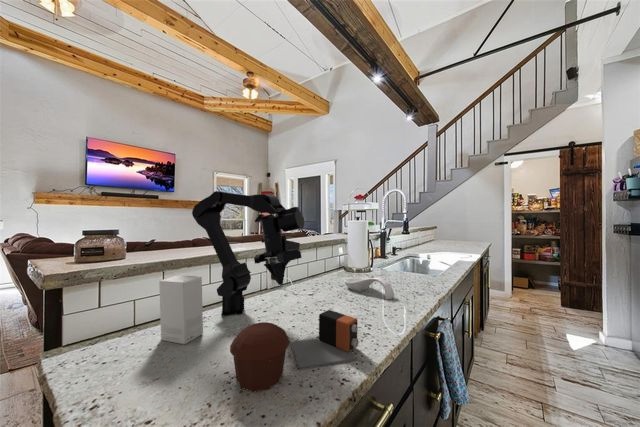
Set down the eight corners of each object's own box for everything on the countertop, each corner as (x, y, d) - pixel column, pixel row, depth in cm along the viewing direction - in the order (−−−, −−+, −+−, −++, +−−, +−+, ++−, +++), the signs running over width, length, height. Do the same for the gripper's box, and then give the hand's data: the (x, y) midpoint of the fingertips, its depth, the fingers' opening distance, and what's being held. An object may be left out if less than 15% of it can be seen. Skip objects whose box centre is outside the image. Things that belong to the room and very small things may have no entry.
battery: (317, 340, 65) (351, 354, 58) (318, 313, 65) (351, 325, 58) (328, 334, 68) (361, 347, 61) (328, 308, 68) (361, 319, 61)
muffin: (237, 406, 43) (237, 346, 43) (223, 371, 52) (223, 322, 53) (299, 381, 49) (300, 330, 49) (277, 354, 59) (277, 311, 59)
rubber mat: (299, 369, 53) (299, 367, 53) (290, 343, 64) (290, 341, 64) (356, 360, 57) (356, 357, 57) (339, 337, 67) (339, 335, 67)
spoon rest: (338, 288, 113) (338, 272, 113) (356, 283, 121) (357, 268, 121) (382, 302, 95) (382, 283, 95) (400, 296, 102) (400, 278, 102)
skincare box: (203, 334, 68) (204, 276, 69) (183, 346, 62) (183, 282, 62) (179, 329, 71) (180, 273, 71) (157, 340, 65) (158, 279, 65)
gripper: (311, 227, 78) (320, 278, 76) (278, 234, 91) (285, 277, 90) (280, 232, 70) (289, 289, 69) (250, 238, 84) (257, 286, 83)
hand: (280, 284), depth 78 cm, fingers closed
